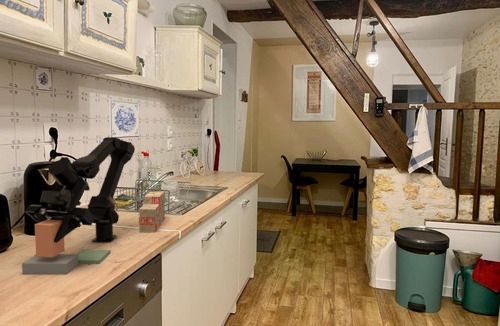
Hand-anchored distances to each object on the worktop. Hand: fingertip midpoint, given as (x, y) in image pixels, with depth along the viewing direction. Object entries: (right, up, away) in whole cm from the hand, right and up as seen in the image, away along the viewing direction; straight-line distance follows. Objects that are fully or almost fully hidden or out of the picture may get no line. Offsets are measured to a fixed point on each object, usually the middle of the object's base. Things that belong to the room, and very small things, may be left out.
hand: (46, 241), depth 100 cm
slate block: (0, -8, +2) cm, 9 cm away
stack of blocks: (+17, -4, +48) cm, 51 cm away
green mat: (+7, -8, +11) cm, 15 cm away
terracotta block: (0, -4, +2) cm, 4 cm away
